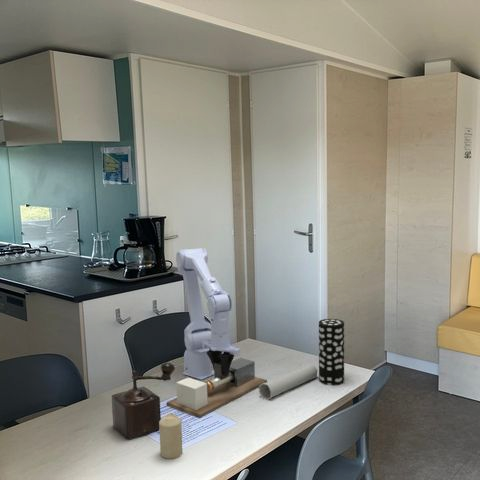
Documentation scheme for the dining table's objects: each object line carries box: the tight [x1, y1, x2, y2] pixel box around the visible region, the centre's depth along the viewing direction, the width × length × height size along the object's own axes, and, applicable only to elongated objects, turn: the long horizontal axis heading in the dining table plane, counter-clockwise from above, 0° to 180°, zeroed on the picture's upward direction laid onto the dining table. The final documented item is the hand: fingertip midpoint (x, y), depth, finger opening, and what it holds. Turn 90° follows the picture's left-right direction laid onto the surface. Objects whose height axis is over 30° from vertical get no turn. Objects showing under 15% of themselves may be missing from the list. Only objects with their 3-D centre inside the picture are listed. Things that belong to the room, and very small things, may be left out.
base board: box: [166, 376, 268, 419], centre depth 175 cm, size 14×32×1 cm, turn 140°
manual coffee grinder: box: [111, 362, 176, 441], centre depth 154 cm, size 16×11×18 cm
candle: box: [158, 412, 183, 460], centre depth 139 cm, size 6×6×10 cm
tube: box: [258, 364, 319, 401], centre depth 179 cm, size 5×5×25 cm
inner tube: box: [204, 360, 235, 392], centre depth 177 cm, size 3×19×8 cm, turn 140°
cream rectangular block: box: [175, 377, 208, 410], centre depth 165 cm, size 8×5×6 cm, turn 50°
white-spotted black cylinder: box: [318, 318, 345, 386], centre depth 182 cm, size 8×8×20 cm
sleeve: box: [226, 357, 256, 387], centre depth 182 cm, size 6×9×6 cm, turn 140°
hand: (221, 373), depth 175 cm, fingers closed on inner tube, 3 cm apart
